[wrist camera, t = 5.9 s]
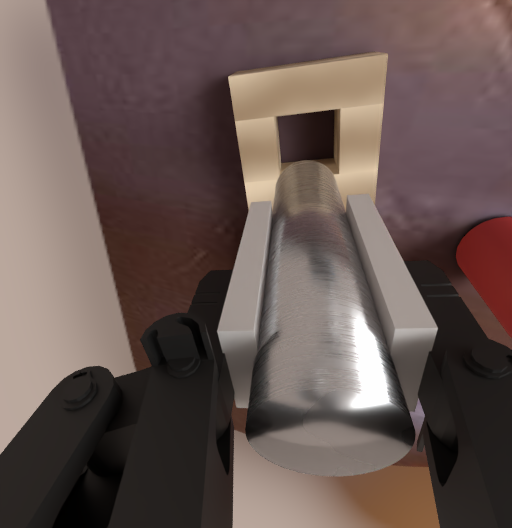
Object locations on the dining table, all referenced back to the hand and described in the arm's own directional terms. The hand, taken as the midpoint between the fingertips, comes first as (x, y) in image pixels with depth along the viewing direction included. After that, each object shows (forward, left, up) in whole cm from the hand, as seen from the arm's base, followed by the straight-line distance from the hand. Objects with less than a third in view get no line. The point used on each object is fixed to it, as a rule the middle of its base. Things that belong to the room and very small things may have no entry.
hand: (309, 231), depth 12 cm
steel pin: (0, 0, -4) cm, 4 cm away
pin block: (+5, 0, -17) cm, 18 cm away
